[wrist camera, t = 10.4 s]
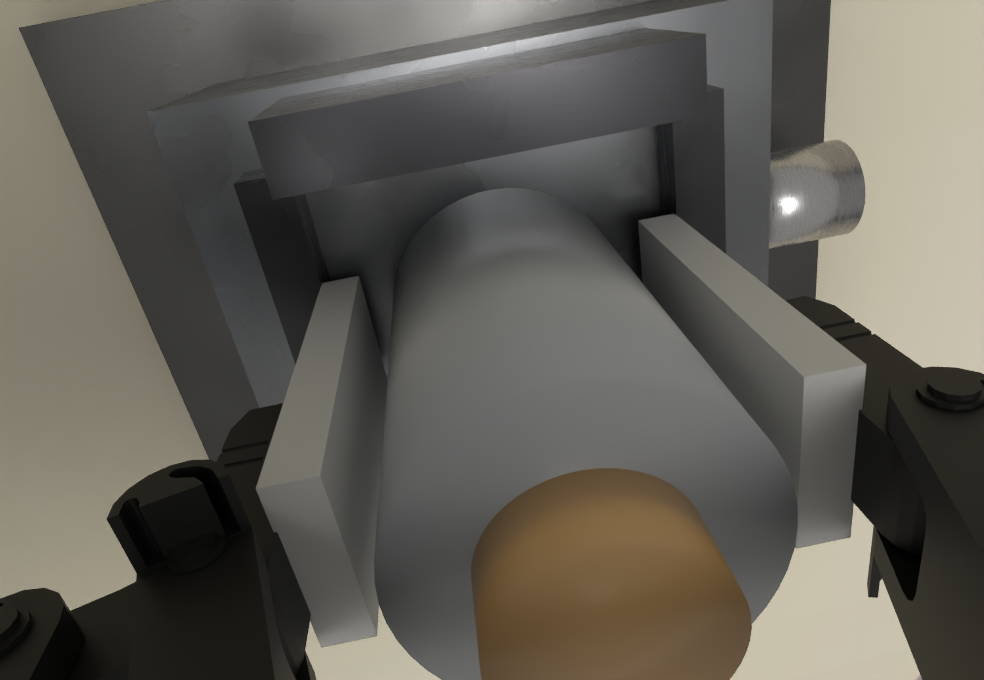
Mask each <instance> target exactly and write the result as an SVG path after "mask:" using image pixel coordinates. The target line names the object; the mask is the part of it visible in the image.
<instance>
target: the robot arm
mask: <svg viewBox="0 0 984 680" xmlns="http://www.w3.org/2000/svg"><path fill="white" fill-rule="evenodd" d="M638 227H639V241H640V254H641V268H642V281H643V284H644V286H645V287H646V288H647V289H648V291H649V292H650V293H651V294H652V295H653V297H654V298H655V299H656V300H657V302H658V303H659V304H660V305H661V307H662V308H663V309H664V310H665V311H666V313H667V314H668V315H669V316H670V318H671V319H672V320H673V321H674V323H675V324H676V325H677V326H678V328H679V329H680V330H681V331H682V332H683V334H684V335H685V336H686V337H687V339H688V340H689V341H690V342H691V344H692V345H693V346H694V347H695V348H696V350H697V351H698V352H699V353H700V355H701V356H702V357H703V358H704V360H705V361H706V362H707V363H708V365H709V366H710V367H711V368H712V369H713V371H714V372H715V373H716V374H717V376H718V377H719V378H720V379H721V381H722V382H723V383H724V384H725V385H726V387H727V388H728V389H729V390H730V392H731V393H732V394H733V395H734V397H735V398H736V399H737V400H738V402H739V403H740V404H741V405H742V406H743V408H744V409H745V410H746V411H747V413H748V414H749V415H750V416H751V418H752V419H753V420H754V421H755V422H756V424H757V425H758V426H759V427H760V429H761V430H762V431H763V432H764V434H765V435H766V436H767V437H768V439H769V440H770V441H771V442H772V443H773V445H774V446H775V447H776V449H777V451H778V452H779V454H780V456H781V457H782V459H783V461H784V462H785V464H786V466H787V468H788V471H789V474H790V476H791V479H792V482H793V484H794V488H795V494H796V500H797V505H798V529H797V535H796V541H795V547H796V549H797V548H801V547H806V546H811V545H816V544H820V543H825V542H830V541H835V540H839V539H844V538H849V537H850V536H851V526H852V515H853V504H855V505H856V506H857V507H858V508H859V509H860V510H861V511H862V513H863V514H864V515H865V516H866V517H867V518H868V519H869V520H870V522H871V523H872V524H873V525H874V528H873V537H872V546H871V555H870V564H869V573H868V582H867V586H868V597H878V591H879V583H880V580H881V579H883V581H884V584H885V586H886V589H887V591H888V594H889V596H890V599H891V601H892V604H893V606H894V609H895V612H896V614H897V617H898V619H899V622H900V624H901V627H902V629H903V632H904V634H905V637H906V639H907V642H908V644H909V647H910V649H911V652H912V654H913V657H914V659H915V662H916V664H917V667H918V669H919V672H920V675H921V677H922V680H984V374H982V373H979V372H974V371H969V370H965V369H960V368H951V367H927V368H922V367H921V366H919V365H918V364H917V363H915V362H914V361H912V360H911V359H910V358H908V357H907V356H905V355H904V354H902V353H901V352H900V351H898V350H897V349H895V348H894V347H893V346H891V345H890V344H888V343H887V342H885V341H884V340H883V339H881V338H880V337H878V336H877V335H876V334H873V335H872V334H871V331H870V330H868V329H867V328H866V327H864V326H863V325H861V324H860V323H859V322H857V323H855V321H854V319H853V318H851V317H850V316H849V315H847V314H846V313H844V312H843V311H842V310H840V309H839V308H837V307H836V306H834V305H831V304H828V303H825V302H822V301H819V300H816V299H813V298H810V297H807V296H802V297H797V298H792V299H787V300H784V299H782V298H781V297H780V296H779V295H777V294H776V293H775V292H774V291H772V290H771V289H770V288H768V287H767V286H766V285H765V284H763V283H762V282H761V281H760V280H758V279H757V278H756V277H755V276H753V275H752V274H751V273H749V272H748V271H747V270H746V269H744V268H743V267H742V266H741V265H739V264H738V263H737V262H735V261H734V260H733V259H732V258H730V257H729V256H728V255H727V254H725V253H724V252H723V251H721V250H720V249H719V248H718V247H716V246H715V245H714V244H713V243H711V242H710V241H709V240H707V239H706V238H705V237H704V236H702V235H701V234H700V233H699V232H697V231H696V230H695V229H693V228H692V227H691V226H690V225H688V224H687V223H686V222H685V221H683V220H682V219H681V218H679V217H678V216H676V215H675V214H669V215H664V216H659V217H654V218H649V219H643V220H638ZM386 392H387V375H386V372H385V368H384V365H383V361H382V357H381V354H380V350H379V346H378V343H377V339H376V336H375V332H374V328H373V325H372V321H371V318H370V314H369V310H368V307H367V303H366V299H365V296H364V292H363V289H362V285H361V281H360V278H359V276H355V277H350V278H345V279H340V280H335V281H330V282H325V283H322V286H321V288H320V291H319V294H318V297H317V300H316V303H315V306H314V309H313V313H312V316H311V319H310V322H309V325H308V328H307V331H306V334H305V337H304V340H303V344H302V347H301V350H300V353H299V356H298V359H297V362H296V365H295V368H294V371H293V375H292V378H291V381H290V384H289V387H288V390H287V393H286V396H285V399H284V402H283V403H281V404H276V405H271V406H267V407H262V408H257V409H252V410H249V411H248V412H247V413H246V414H245V415H244V416H243V417H242V418H241V419H240V420H239V421H238V422H237V423H236V424H235V425H234V426H233V427H232V428H231V429H230V431H229V434H228V436H227V438H226V441H225V443H224V445H223V448H222V454H220V455H219V457H218V459H217V462H215V461H213V460H190V461H186V462H182V463H179V464H175V465H171V466H168V467H166V468H164V469H162V470H159V471H157V472H155V473H153V474H151V475H148V476H147V477H145V478H144V479H142V480H141V481H139V482H138V483H136V484H135V485H133V486H132V487H130V488H129V489H128V490H127V491H126V492H125V493H124V494H123V495H122V496H121V497H120V498H119V499H118V500H117V501H116V502H115V503H114V504H113V506H112V508H111V511H110V513H109V515H108V517H107V521H108V522H109V524H110V526H111V528H112V530H113V531H114V533H115V535H116V537H117V539H118V540H119V542H120V544H121V546H122V548H123V549H124V551H125V553H126V555H127V557H128V558H129V560H130V562H131V564H132V566H133V567H134V569H135V571H136V573H137V578H136V582H135V583H133V584H131V585H129V586H127V587H125V588H123V589H121V590H118V591H116V592H114V593H111V594H109V595H107V596H104V597H102V598H100V599H97V600H95V601H93V602H90V603H88V604H86V605H83V606H81V607H79V608H76V609H74V610H71V611H70V610H69V608H68V607H67V605H66V604H65V602H64V600H63V599H62V597H61V596H60V594H59V593H58V592H55V591H52V590H49V589H46V588H39V589H30V590H23V591H20V592H18V593H15V594H12V595H9V596H6V597H4V598H1V599H0V680H316V677H315V672H314V670H313V668H312V665H311V663H310V661H309V658H308V656H307V654H306V652H305V647H306V641H307V635H308V629H309V623H310V621H311V624H312V626H313V629H314V631H315V633H316V636H317V638H318V641H319V643H320V645H321V648H322V647H327V646H331V645H336V644H341V643H346V642H351V641H355V640H360V639H365V638H370V637H375V636H377V627H378V609H379V602H378V598H377V593H376V588H375V582H374V554H375V541H376V527H377V514H378V500H379V487H380V473H381V460H382V446H383V433H384V419H385V406H386Z"/></svg>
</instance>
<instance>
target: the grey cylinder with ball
mask: <svg viewBox="0 0 984 680" xmlns="http://www.w3.org/2000/svg"><path fill="white" fill-rule="evenodd" d="M797 529H798V505H797V500H796V494H795V488H794V484H793V482H792V479H791V476H790V474H789V471H788V468H787V466H786V464H785V462H784V461H783V459H782V457H781V456H780V454H779V452H778V451H777V449H776V447H775V446H774V445H773V443H772V442H771V441H770V440H769V439H768V437H767V436H766V435H765V434H764V432H763V431H762V430H761V429H760V427H759V426H758V425H757V424H756V422H755V421H754V420H753V419H752V418H751V416H750V415H749V414H748V413H747V411H746V410H745V409H744V408H743V406H742V405H741V404H740V403H739V402H738V400H737V399H736V398H735V397H734V395H733V394H732V393H731V392H730V390H729V389H728V388H727V387H726V385H725V384H724V383H723V382H722V381H721V379H720V378H719V377H718V376H717V374H716V373H715V372H714V371H713V369H712V368H711V367H710V366H709V365H708V363H707V362H706V361H705V360H704V358H703V357H702V356H701V355H700V353H699V352H698V351H697V350H696V348H695V347H694V346H693V345H692V344H691V342H690V341H689V340H688V339H687V337H686V336H685V335H684V334H683V332H682V331H681V330H680V329H679V328H678V326H677V325H676V324H675V323H674V321H673V320H672V319H671V318H670V316H669V315H668V314H667V313H666V311H665V310H664V309H663V308H662V307H661V305H660V304H659V303H658V302H657V300H656V299H655V298H654V297H653V295H652V294H651V293H650V292H649V291H648V289H647V288H646V287H645V286H644V284H643V283H642V282H641V281H640V279H639V278H638V277H637V276H636V274H635V273H634V272H633V271H632V270H631V268H630V267H629V266H628V265H627V263H626V262H625V261H624V260H623V258H622V257H621V256H620V255H619V253H618V252H617V251H616V250H615V249H614V247H613V246H612V245H611V244H610V242H609V241H608V240H607V239H606V237H605V236H604V235H603V234H602V233H601V231H600V230H599V229H598V228H597V227H596V225H595V224H594V223H593V222H592V221H591V220H590V219H589V218H588V217H587V216H586V215H585V214H584V213H582V212H581V211H580V210H579V209H577V208H576V207H574V206H573V205H571V204H570V203H568V202H566V201H564V200H562V199H560V198H558V197H556V196H554V195H550V194H547V193H544V192H541V191H536V190H530V189H524V188H502V189H492V190H487V191H483V192H479V193H475V194H473V195H470V196H467V197H465V198H462V199H460V200H458V201H456V202H454V203H452V204H451V205H449V206H447V207H446V208H444V209H443V210H441V211H440V212H438V213H437V214H436V215H434V216H433V217H432V218H431V219H430V220H429V221H428V222H427V223H426V224H425V225H424V226H423V227H422V228H421V229H420V230H419V232H418V233H417V234H416V235H415V236H414V238H413V239H412V241H411V243H410V244H409V246H408V247H407V249H406V251H405V253H404V255H403V258H402V260H401V262H400V265H399V268H398V272H397V275H396V280H395V288H394V298H393V311H392V325H391V338H390V352H389V365H388V379H387V392H386V406H385V419H384V433H383V446H382V460H381V473H380V487H379V500H378V514H377V527H376V541H375V554H374V582H375V588H376V593H377V598H378V602H379V606H380V608H381V611H382V613H383V616H384V618H385V621H386V623H387V625H388V626H389V628H390V630H391V631H392V633H393V634H394V636H395V638H396V639H397V641H398V642H399V643H400V644H401V645H402V647H403V648H404V649H405V650H406V651H407V652H408V654H409V655H410V656H411V657H412V658H413V659H415V660H416V661H417V662H418V663H419V664H420V665H422V666H423V667H424V668H425V669H426V670H428V671H429V672H431V673H432V674H434V675H435V676H437V677H439V678H440V679H442V680H729V679H730V678H731V677H732V676H733V674H734V673H735V671H736V670H737V668H738V667H739V665H740V664H741V662H742V660H743V658H744V656H745V653H746V651H747V648H748V645H749V641H750V636H751V629H752V625H751V624H752V623H753V622H754V621H755V620H756V618H757V617H758V616H759V615H760V614H761V612H762V611H763V610H764V609H765V608H766V606H767V605H768V603H769V602H770V600H771V599H772V597H773V596H774V594H775V593H776V591H777V590H778V588H779V586H780V584H781V582H782V580H783V578H784V575H785V573H786V571H787V569H788V566H789V563H790V560H791V557H792V554H793V551H794V548H795V541H796V535H797Z"/></svg>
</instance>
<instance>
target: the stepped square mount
mask: <svg viewBox="0 0 984 680" xmlns="http://www.w3.org/2000/svg"><path fill="white" fill-rule="evenodd" d="M830 6H831V0H164V1H159V2H153V3H148V4H143V5H137V6H132V7H127V8H121V9H116V10H111V11H106V12H100V13H95V14H90V15H84V16H79V17H74V18H68V19H63V20H58V21H52V22H47V23H42V24H37V25H31V26H26V27H21V28H19V30H20V32H21V34H22V36H23V39H24V41H25V43H26V45H27V48H28V50H29V52H30V54H31V57H32V59H33V61H34V64H35V66H36V68H37V70H38V73H39V75H40V77H41V79H42V82H43V84H44V86H45V88H46V91H47V93H48V95H49V97H50V100H51V102H52V104H53V107H54V109H55V111H56V113H57V116H58V118H59V120H60V122H61V125H62V127H63V129H64V131H65V134H66V136H67V138H68V140H69V143H70V145H71V147H72V150H73V152H74V154H75V156H76V159H77V161H78V163H79V165H80V168H81V170H82V172H83V174H84V177H85V179H86V181H87V183H88V186H89V188H90V190H91V193H92V195H93V197H94V199H95V202H96V204H97V206H98V208H99V211H100V213H101V215H102V217H103V220H104V222H105V224H106V226H107V229H108V231H109V233H110V236H111V238H112V240H113V242H114V245H115V247H116V249H117V251H118V254H119V256H120V258H121V260H122V263H123V265H124V267H125V269H126V272H127V274H128V276H129V279H130V281H131V283H132V285H133V288H134V290H135V292H136V294H137V297H138V299H139V301H140V303H141V306H142V308H143V310H144V312H145V315H146V317H147V319H148V322H149V324H150V326H151V328H152V331H153V333H154V335H155V337H156V340H157V342H158V344H159V346H160V349H161V351H162V353H163V355H164V358H165V360H166V362H167V365H168V367H169V369H170V371H171V374H172V376H173V378H174V380H175V383H176V385H177V387H178V389H179V392H180V394H181V396H182V398H183V401H184V403H185V405H186V408H187V410H188V412H189V414H190V417H191V419H192V421H193V423H194V426H195V428H196V430H197V432H198V435H199V437H200V439H201V441H202V444H203V446H204V448H205V450H206V453H207V455H208V457H209V460H213V461H215V462H217V459H218V457H219V455H220V454H222V448H223V445H224V443H225V441H226V438H227V436H228V434H229V431H230V429H231V428H232V427H233V426H234V425H235V424H236V423H237V422H238V421H239V420H240V419H241V418H242V417H243V416H244V415H245V414H246V413H247V412H248V411H249V410H252V409H257V408H262V407H267V406H271V405H276V404H281V403H283V402H284V399H285V396H286V393H287V390H288V387H289V384H290V381H291V378H292V375H293V371H294V368H295V365H296V362H297V359H298V356H299V353H300V350H301V347H302V344H303V340H304V337H305V334H306V331H307V328H308V325H309V322H310V319H311V316H312V313H313V309H314V306H315V303H316V300H317V297H318V294H319V291H320V288H321V286H322V283H325V282H330V281H335V280H340V279H345V278H350V277H355V276H359V278H360V281H361V285H362V289H363V292H364V296H365V299H366V303H367V307H368V310H369V314H370V318H371V321H372V325H373V328H374V332H375V336H376V339H377V343H378V346H379V350H380V354H381V357H382V361H383V365H384V368H385V372H386V375H387V379H388V365H389V352H390V338H391V325H392V311H393V298H394V288H395V280H396V275H397V272H398V268H399V265H400V262H401V260H402V258H403V255H404V253H405V251H406V249H407V247H408V246H409V244H410V243H411V241H412V239H413V238H414V236H415V235H416V234H417V233H418V232H419V230H420V229H421V228H422V227H423V226H424V225H425V224H426V223H427V222H428V221H429V220H430V219H431V218H432V217H433V216H434V215H436V214H437V213H438V212H440V211H441V210H443V209H444V208H446V207H447V206H449V205H451V204H452V203H454V202H456V201H458V200H460V199H462V198H465V197H467V196H470V195H473V194H475V193H479V192H483V191H487V190H492V189H502V188H524V189H530V190H536V191H541V192H544V193H547V194H550V195H554V196H556V197H558V198H560V199H562V200H564V201H566V202H568V203H570V204H571V205H573V206H574V207H576V208H577V209H579V210H580V211H581V212H582V213H584V214H585V215H586V216H587V217H588V218H589V219H590V220H591V221H592V222H593V223H594V224H595V225H596V227H597V228H598V229H599V230H600V231H601V233H602V234H603V235H604V236H605V237H606V239H607V240H608V241H609V242H610V244H611V245H612V246H613V247H614V249H615V250H616V251H617V252H618V253H619V255H620V256H621V257H622V258H623V260H624V261H625V262H626V263H627V265H628V266H629V267H630V268H631V270H632V271H633V272H634V273H635V274H636V276H637V277H638V278H639V279H640V281H641V282H642V283H643V281H642V268H641V254H640V241H639V227H638V220H643V219H649V218H654V217H659V216H664V215H669V214H675V215H676V216H678V217H679V218H681V219H682V220H683V221H685V222H686V223H687V224H688V225H690V226H691V227H692V228H693V229H695V230H696V231H697V232H699V233H700V234H701V235H702V236H704V237H705V238H706V239H707V240H709V241H710V242H711V243H713V244H714V245H715V246H716V247H718V248H719V249H720V250H721V251H723V252H724V253H725V254H727V255H728V256H729V257H730V258H732V259H733V260H734V261H735V262H737V263H738V264H739V265H741V266H742V267H743V268H744V269H746V270H747V271H748V272H749V273H751V274H752V275H753V276H755V277H756V278H757V279H758V280H760V281H761V282H762V283H763V284H765V285H766V286H767V287H768V288H770V289H771V290H772V291H774V292H775V293H776V294H777V295H779V296H780V297H781V298H782V299H784V300H787V299H792V298H797V297H802V296H807V297H810V298H813V299H815V297H816V277H817V258H818V239H823V238H828V237H833V236H838V235H843V234H847V233H849V232H851V231H852V230H853V229H854V228H855V227H856V226H857V225H858V223H859V221H860V219H861V216H862V213H863V209H864V204H865V182H864V176H863V172H862V168H861V166H860V163H859V161H858V158H857V156H856V155H855V153H854V152H853V150H852V149H851V148H850V147H849V146H848V145H847V144H846V143H844V142H842V141H840V140H831V141H826V142H824V122H825V103H826V83H827V64H828V44H829V25H830Z"/></svg>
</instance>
